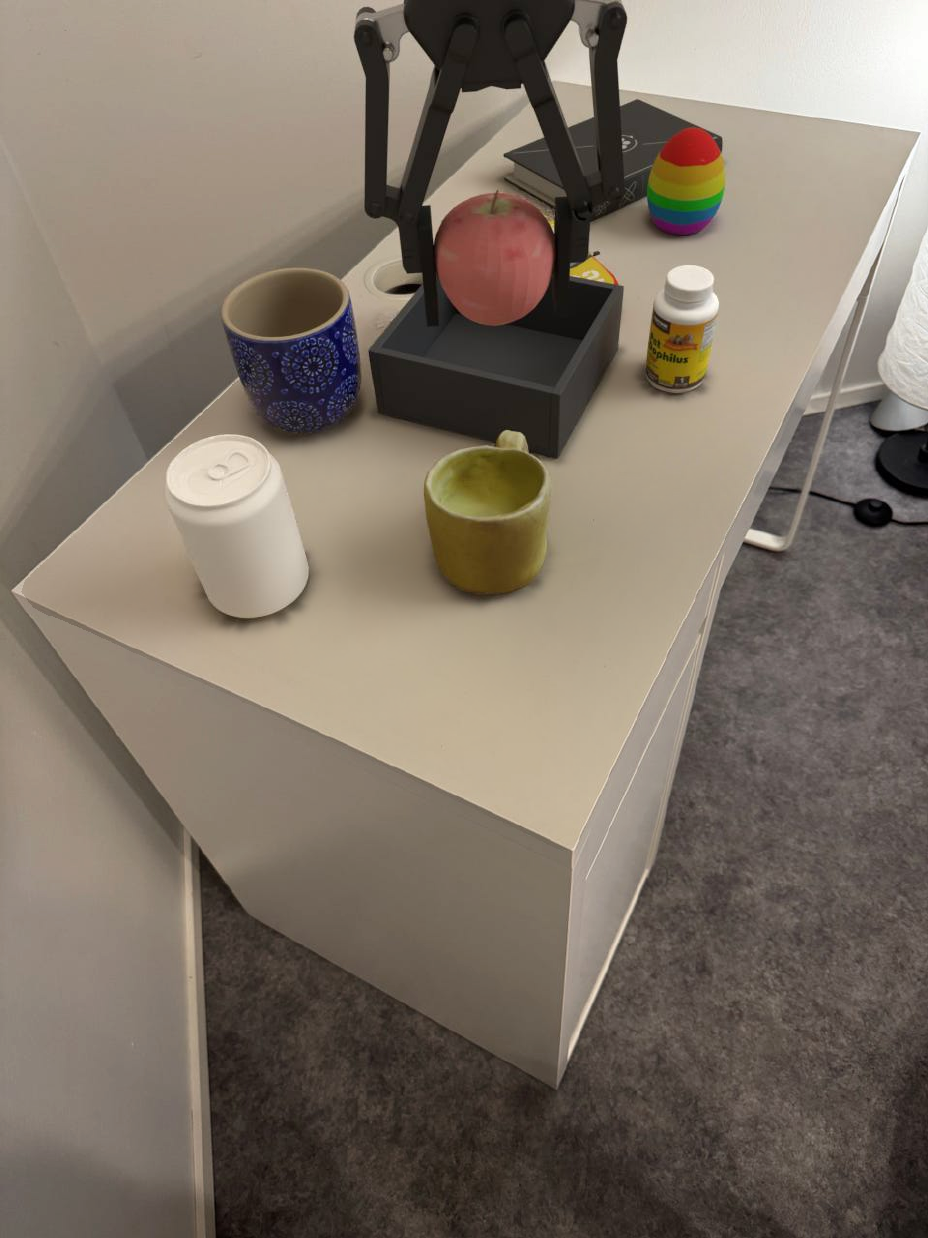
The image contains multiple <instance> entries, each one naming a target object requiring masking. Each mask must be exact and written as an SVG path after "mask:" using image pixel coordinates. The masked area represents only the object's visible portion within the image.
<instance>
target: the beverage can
mask: <svg viewBox="0 0 928 1238" xmlns="http://www.w3.org/2000/svg"><path fill="white" fill-rule="evenodd" d="M276 459H277V458H275V457H274V456H273V454H271V453H270V452H268V450H267V448H266V447H265V445H263V444H262V443H261V442H260V441H258V440H257V439H255V438H252V437H250V436H246V435H241V434H231V433H228V434H218V435H213V436H209V437H205V438H201V439H199V440H197V441H195V442H194V443H191V444H189V445H188V446H186V447H185V448H183V449H182V450H181V451H180V452H178V454H176V456H174V458H173V459H172V460H171V462H170V463H169V465H168V467H167V470H166V474H165V483H166V484H165V488H164V500H165V503H166V507H167V508H168V511H169V512H170V515H171V517H172V519H173V521H174V524H175V526H176V528H177V531H178V533H179V535H180V538H181V540H182V542H183V544H184V547H185V549H186V552H187V553H188V556H189V558H190V560H191V563H192V566H193V567H194V569H195V572H196V574H197V577H198V579H199V581H200V583H201V586H202V588H203V590H204V593H205V594H206V597H207V599H208V601H209V602H210V604H212V606H213V607H214V608H216V609H217V610H218V611H219V612H221V613H223V614H225V615H228V616H231V617H234V618H238V619H239V618H240V619H255V618H262V617H266V616H269V615H272V614H275V613H278V612H279V611H281V610H283V609H285V608H286V607H288V606H289V605H291V604H292V603H293V602H294V601H295V600H296V599H297V598H298V597H300V595H301V593H303V591H304V590H305V587H306V586H307V583H308V580H309V576H310V567H309V561H308V558H307V555H306V552H305V548H304V544H303V542H302V538H301V534H300V531H299V527H298V524H297V521H296V517H295V514H294V510H293V507H292V503H291V500H290V496H289V493H288V489H287V485H286V482H285V479H284V474H283V472H282V471H283V470H282V468H281V466H280V464H279V462H278V461H277V460H276Z"/></svg>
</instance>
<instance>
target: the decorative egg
mask: <svg viewBox="0 0 928 1238" xmlns="http://www.w3.org/2000/svg"><path fill="white" fill-rule="evenodd" d="M722 155H723V154H721V152H720V150H719V148H718V146H717V144H716V142H715V141H714V139H713V138H712V137H711V136H710V135H709V134H708V133H707V132H706V131H704V130H703V129H700V128H696V127H690V128H686V129H684V130H681V131H680V132H678V133H677V134H675V135H674V136H673V137H672V138H671V139H670V140H669V141H668V142H667V143H666V144H665V145H664V147H663V148H662V149H661V151H660V152H659V154H658V156H657V158H656V160H655V162H654V164H653V166H652V169H651V172H650V176H649V180H648V185H647V196H646V202H647V207H648V212H649V214H650V217H651V218H652V220H653V222H654V224H655V225H656V227H658V228H659V229H660V230H662V231H663V232H664V233H665V232H666V233H668V234H671V235H678V236H687V235H692V234H696V233H699V232H700V231H702V230H703V229H705V228H706V227H707V226H708V225H709V224H710V223H711V221H712V220H713V219H714V218H715V216H716V215H717V213H718V211H719V209H720V207H721V204H722V202H723V197H724V194H725V188H726V169H725V163H724V158H723V156H722Z"/></svg>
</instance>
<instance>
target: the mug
mask: <svg viewBox="0 0 928 1238" xmlns="http://www.w3.org/2000/svg"><path fill="white" fill-rule="evenodd" d="M551 499H552V484H551V477H550V474H549V472H548V470H547V467H546V466H545V464H544V463H543V462H542V461H541V460H540V459H539V458H538V457H536V456H535V455H533V454H531V453H529V451H528V445H527V442H526V439H525V436H524V435H523V434H522V433H520V432H515V431H509V430H505V431H503V432H502V433H501V434H500V435H499V437H498V439H497V440H496V443H495V446H492V445H487V444H486V445H478V446H470V447H465V448H459V449H457V450H454V451H452V452H449V453H448V454H446V455H445V456H443V457H442V458H440V459H439V460H437V461H436V462H435V463H434V464H433V465H432V466H431V467H430V469H429V470H428V471H427V473H426V475H425V478H424V482H423V500H424V506H425V507H424V508H425V509H424V510H425V517H426V522H427V529H428V533H429V537H430V542H431V543H430V544H431V547H432V551H433V557H434V560H435V563H436V565H437V568H438V569H439V571H440V572H441V574H442V576H444V578H445V579H446V580H447V581H448V582H449V583H450V584H452V585H453V586H454V587H456V588H457V589H458V590H461V591H463V592H467V593H472V594H474V595H480V596H481V595H483V596H484V595H488V594H493V595H494V594H496V595H499V594H500V595H501V594H506V593H510V592H512V591H517V590H518V589H519V590H520V589H521V588H524V587H525V586H529V584H531V583H532V582H533V581H534V580H535V579H536V577H537V576H538V574H539V572H540V571H541V569H542V568H543V565H544V562H545V560H546V556H547V546H548V545H547V543H548V542H547V529H548V521H549V514H550V507H551V501H552V500H551Z"/></svg>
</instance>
